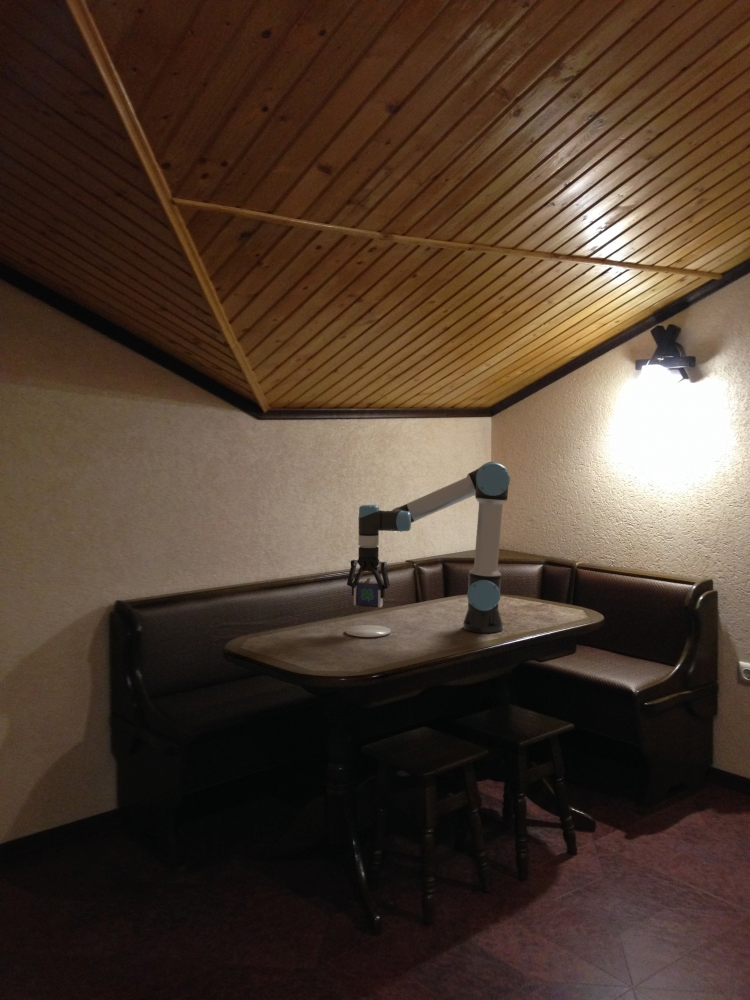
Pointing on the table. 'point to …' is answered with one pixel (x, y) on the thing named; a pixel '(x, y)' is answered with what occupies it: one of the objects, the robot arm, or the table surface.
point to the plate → (368, 631)
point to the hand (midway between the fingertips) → (368, 605)
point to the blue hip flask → (367, 593)
